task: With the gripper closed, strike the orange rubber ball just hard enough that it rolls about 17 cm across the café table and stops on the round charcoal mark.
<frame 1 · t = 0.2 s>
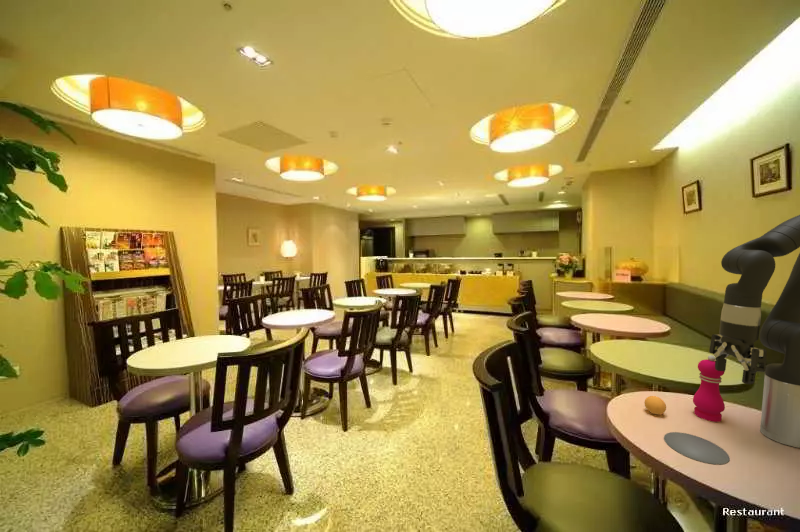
hand: (733, 376, 89), 17 cm above the table, tool pointing down, fingers open, 8 cm apart
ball: (655, 405, 102), on the table
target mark: (695, 447, 86), on the table
pepper mill: (707, 417, 100), on the table
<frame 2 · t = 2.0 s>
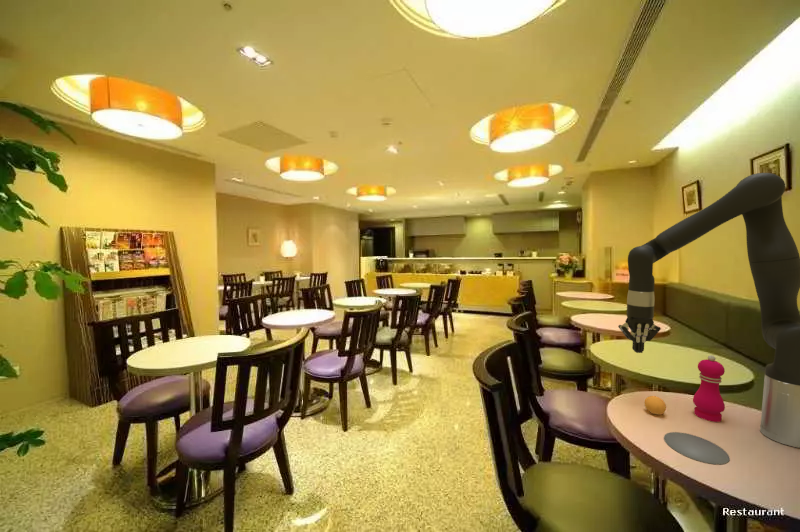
hand: (638, 352, 110), 17 cm above the table, tool pointing down, fingers closed
nothing on the table moved.
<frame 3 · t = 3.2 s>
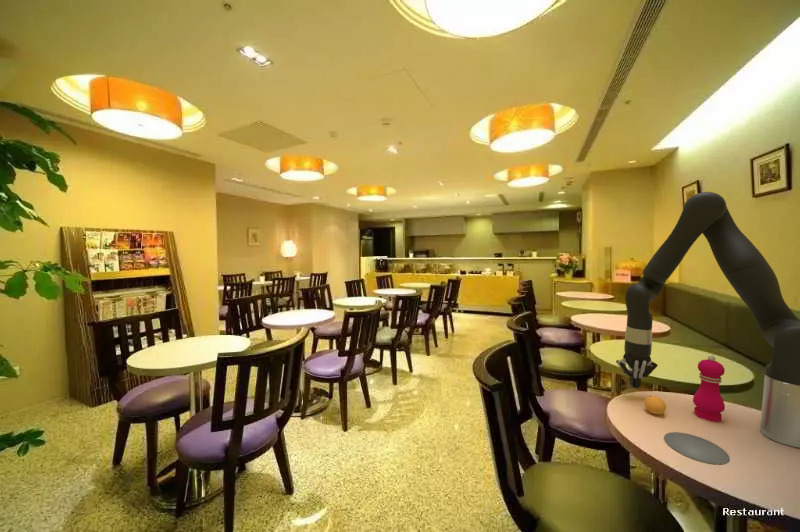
hand: (634, 387, 111), 4 cm above the table, tool pointing down, fingers closed
nothing on the table moved.
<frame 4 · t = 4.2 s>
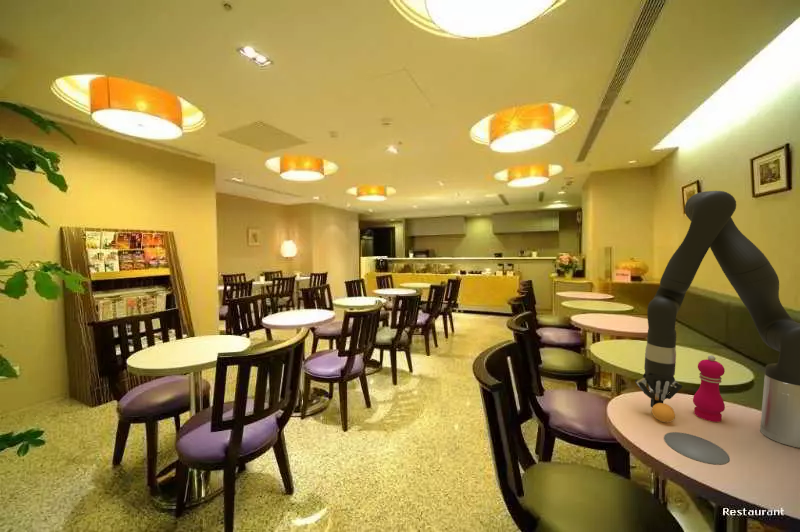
hand: (656, 409, 102), 1 cm above the table, tool pointing down, fingers closed
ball: (663, 412, 98), on the table, touching gripper
everything else where it was.
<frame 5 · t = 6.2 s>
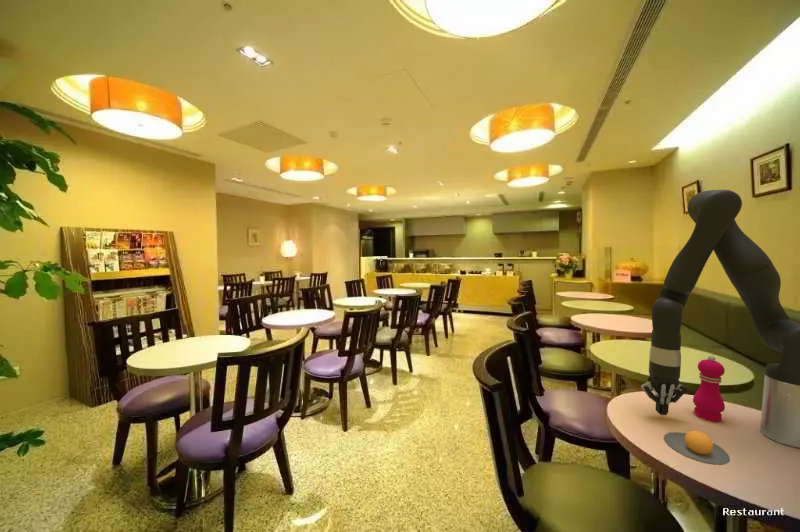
hand: (661, 413, 99), 1 cm above the table, tool pointing down, fingers closed
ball: (698, 442, 84), on the table
everything else where it was.
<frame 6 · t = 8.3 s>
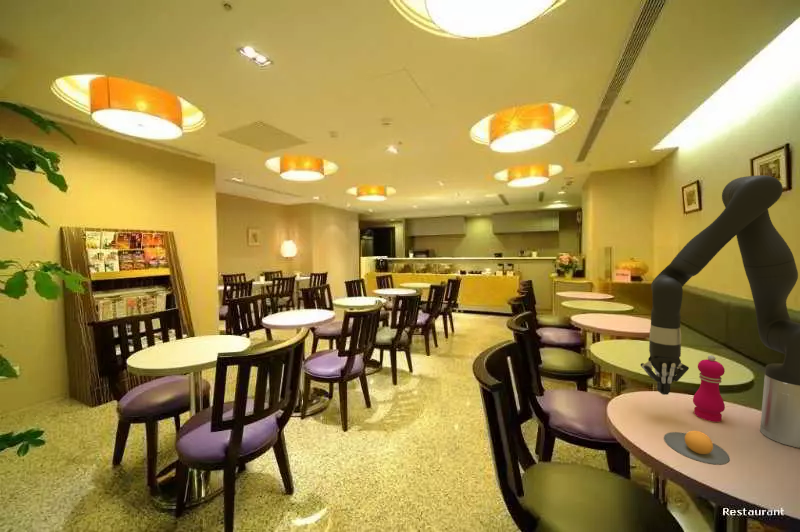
hand: (663, 393, 99), 8 cm above the table, tool pointing down, fingers closed
nothing on the table moved.
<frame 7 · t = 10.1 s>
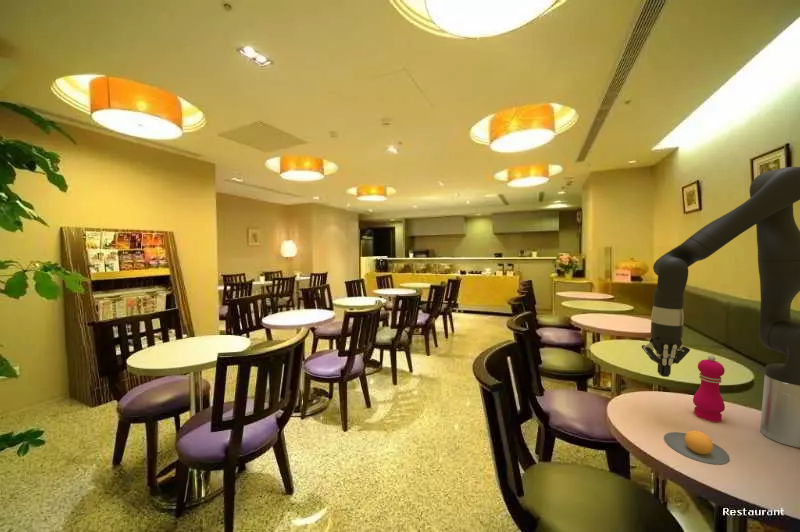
hand: (663, 375, 98), 14 cm above the table, tool pointing down, fingers closed
nothing on the table moved.
at the end: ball 2.0 cm from the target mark (horizontally); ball at rest at the end (0.0 cm/s); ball moved 19.0 cm from its start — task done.
